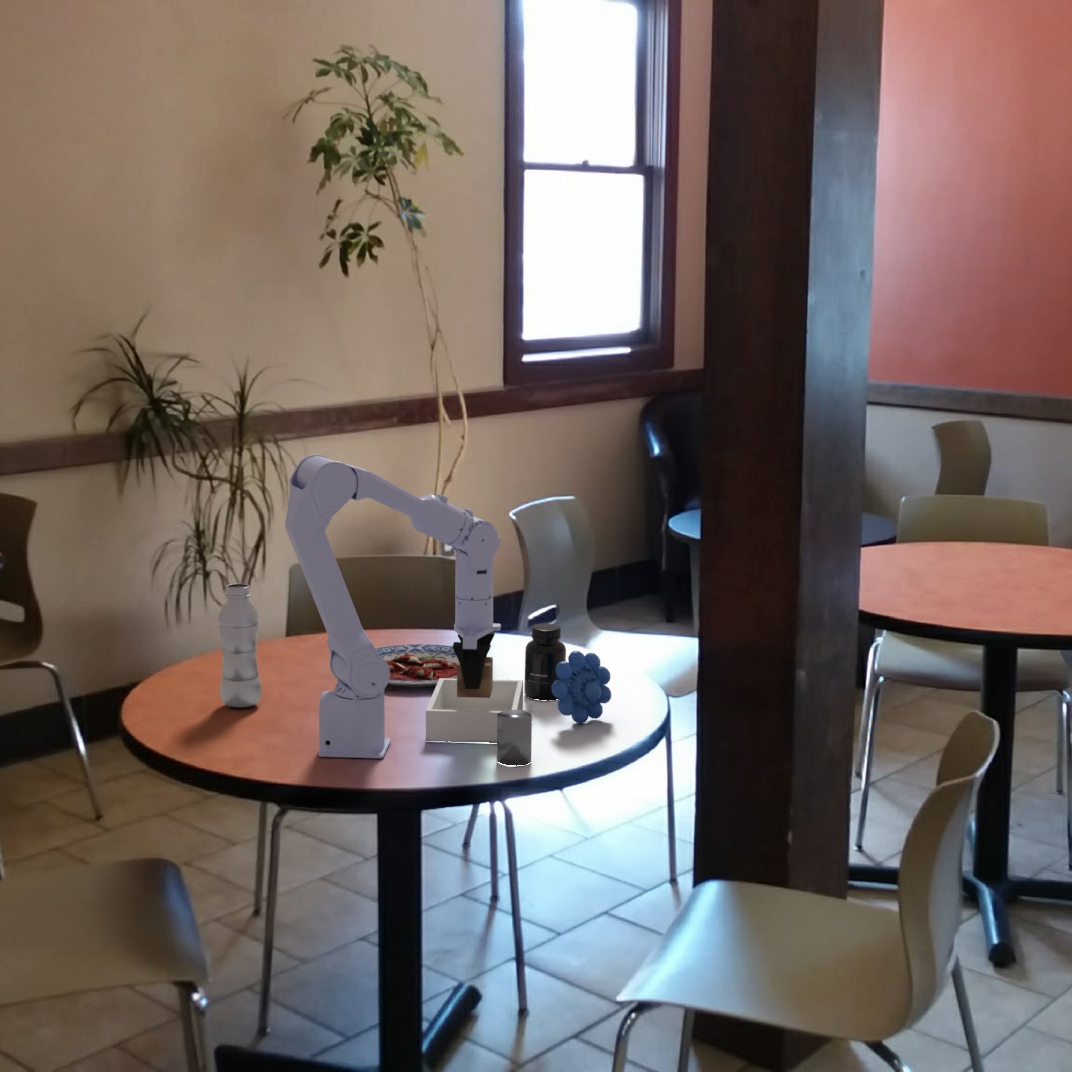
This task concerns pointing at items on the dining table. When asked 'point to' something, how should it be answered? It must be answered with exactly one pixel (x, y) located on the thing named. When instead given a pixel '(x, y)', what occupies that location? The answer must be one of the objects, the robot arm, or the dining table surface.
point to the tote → (469, 711)
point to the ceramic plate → (419, 664)
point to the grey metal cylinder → (514, 737)
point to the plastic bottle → (239, 648)
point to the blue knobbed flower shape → (581, 686)
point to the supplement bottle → (543, 661)
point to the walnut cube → (485, 684)
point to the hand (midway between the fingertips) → (474, 683)
